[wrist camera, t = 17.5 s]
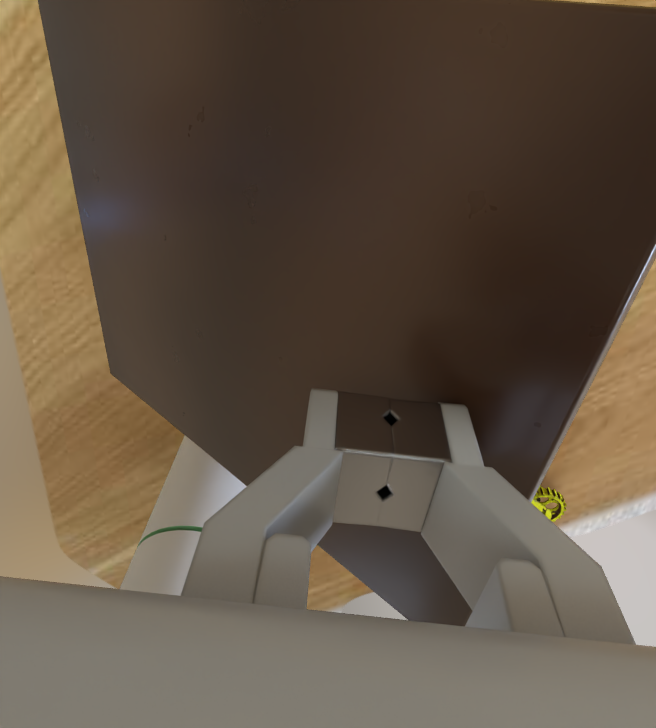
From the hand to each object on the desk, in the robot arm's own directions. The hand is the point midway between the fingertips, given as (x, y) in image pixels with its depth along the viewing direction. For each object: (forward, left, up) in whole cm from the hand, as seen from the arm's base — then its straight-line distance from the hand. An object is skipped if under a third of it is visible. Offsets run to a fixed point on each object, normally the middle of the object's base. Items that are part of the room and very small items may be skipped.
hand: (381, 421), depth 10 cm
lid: (-3, 0, -5) cm, 6 cm away
